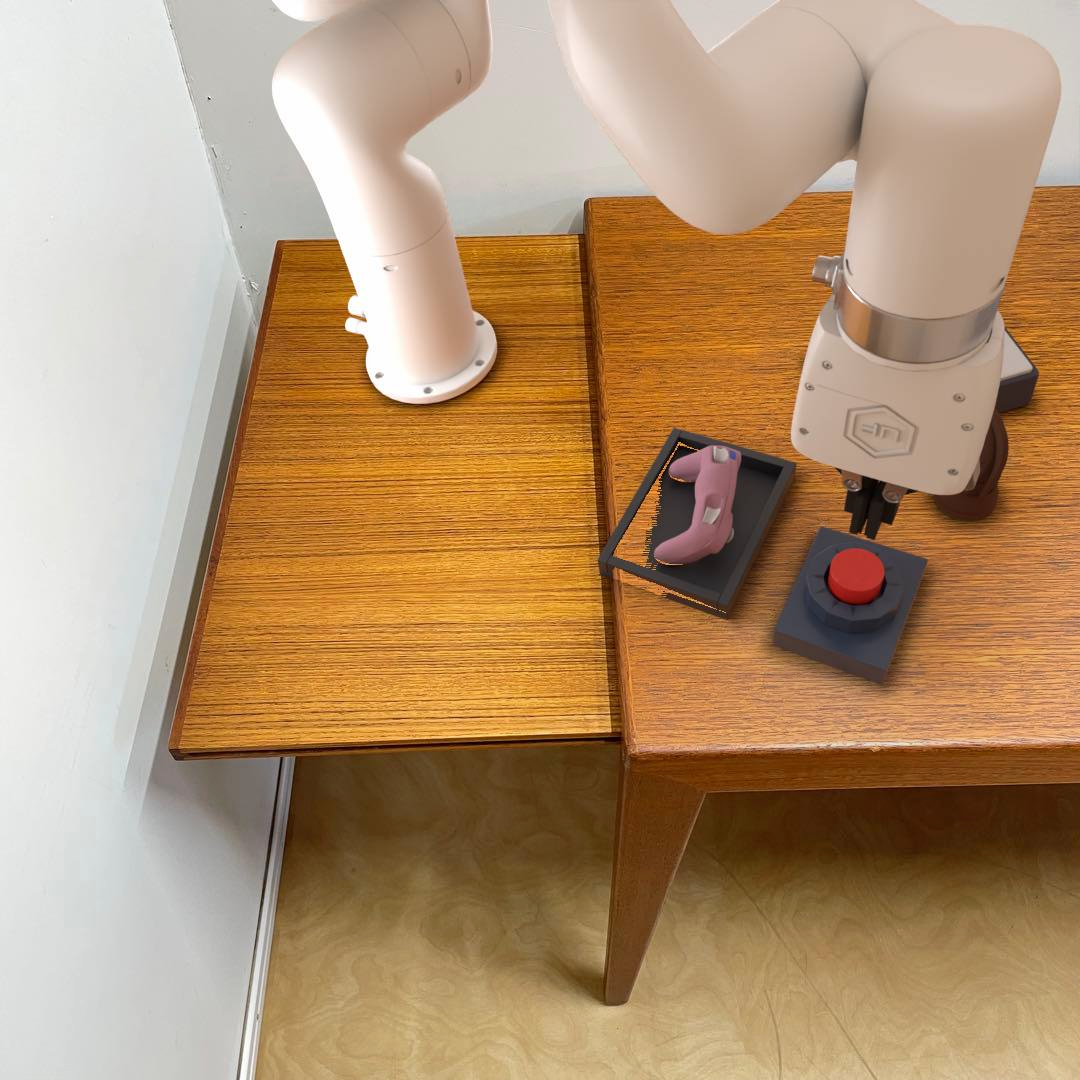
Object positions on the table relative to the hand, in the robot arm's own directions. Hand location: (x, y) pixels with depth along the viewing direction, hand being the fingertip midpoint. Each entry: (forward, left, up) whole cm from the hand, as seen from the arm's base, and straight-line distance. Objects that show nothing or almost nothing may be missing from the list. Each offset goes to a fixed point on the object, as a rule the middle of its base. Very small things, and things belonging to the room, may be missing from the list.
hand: (868, 519), depth 64 cm
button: (0, 0, -7) cm, 7 cm away
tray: (-13, +3, -11) cm, 17 cm away
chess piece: (+5, +13, -11) cm, 18 cm away
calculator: (-2, +24, -11) cm, 27 cm away
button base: (0, 0, -11) cm, 11 cm away
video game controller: (-13, +3, -11) cm, 17 cm away
